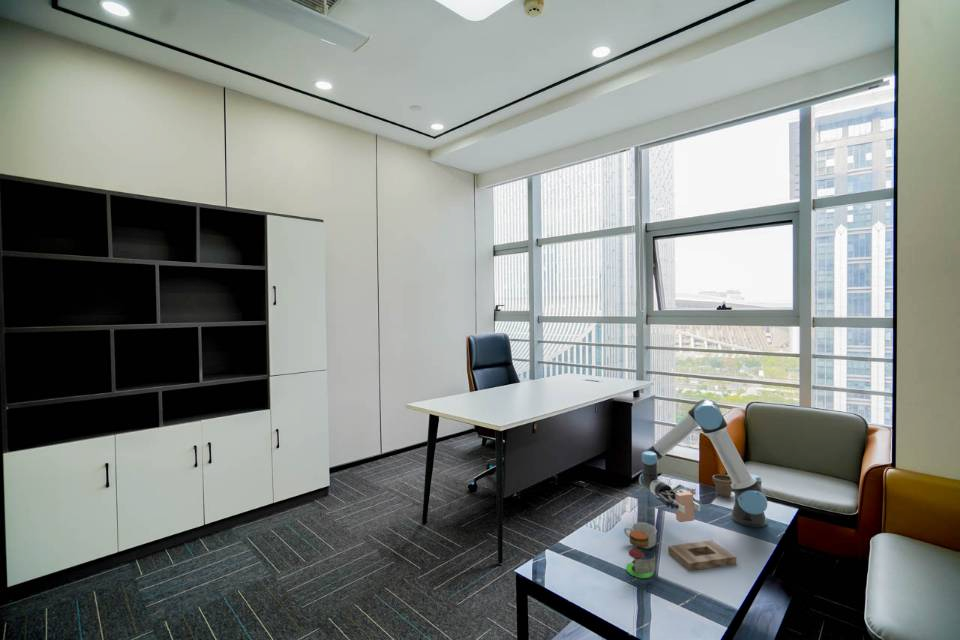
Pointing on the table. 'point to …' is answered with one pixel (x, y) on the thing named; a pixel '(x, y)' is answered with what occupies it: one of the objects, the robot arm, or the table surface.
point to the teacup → (645, 528)
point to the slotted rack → (692, 562)
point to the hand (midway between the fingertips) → (691, 509)
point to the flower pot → (723, 485)
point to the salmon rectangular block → (687, 502)
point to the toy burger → (640, 556)
